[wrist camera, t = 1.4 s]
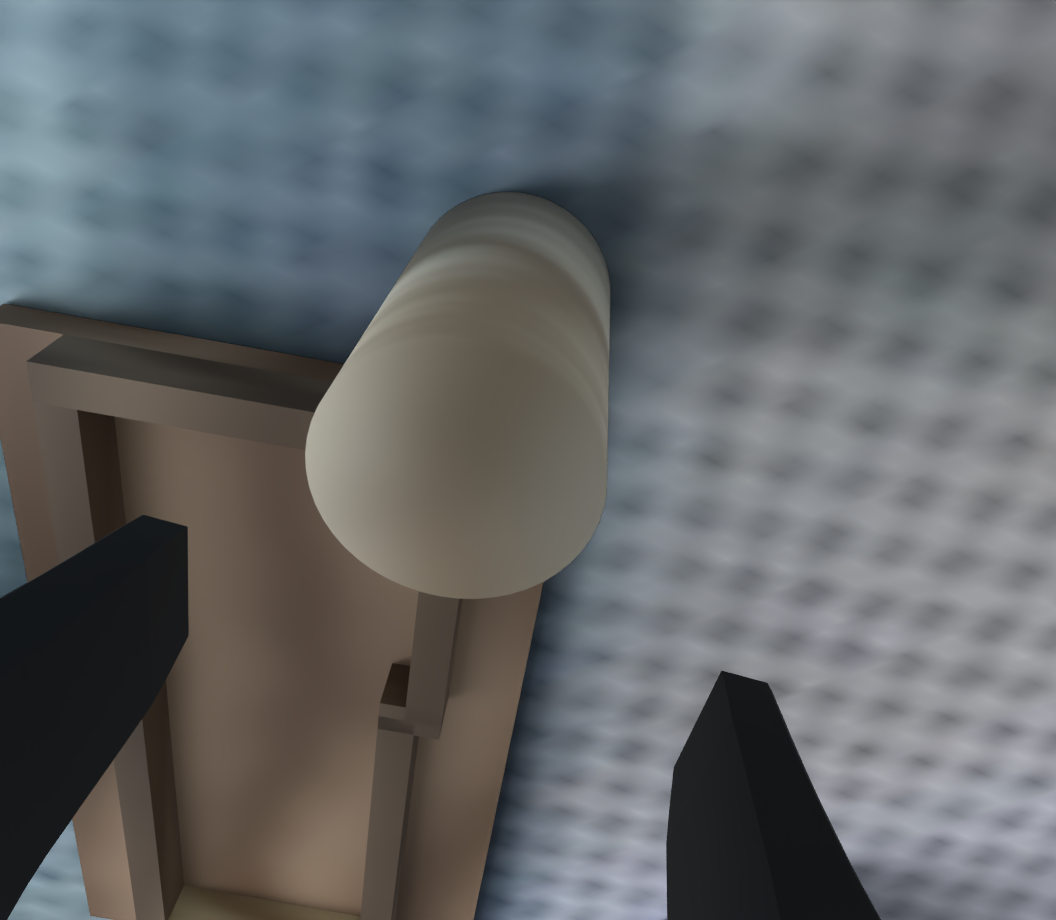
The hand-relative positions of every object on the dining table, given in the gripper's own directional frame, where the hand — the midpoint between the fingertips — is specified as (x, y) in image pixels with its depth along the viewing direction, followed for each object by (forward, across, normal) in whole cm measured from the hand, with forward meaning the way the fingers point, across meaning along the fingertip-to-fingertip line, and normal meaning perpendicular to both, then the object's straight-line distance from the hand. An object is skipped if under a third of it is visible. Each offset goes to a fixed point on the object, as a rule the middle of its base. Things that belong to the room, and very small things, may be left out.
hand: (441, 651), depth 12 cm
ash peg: (+10, +1, -1) cm, 10 cm away
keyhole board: (+9, +5, +14) cm, 18 cm away
